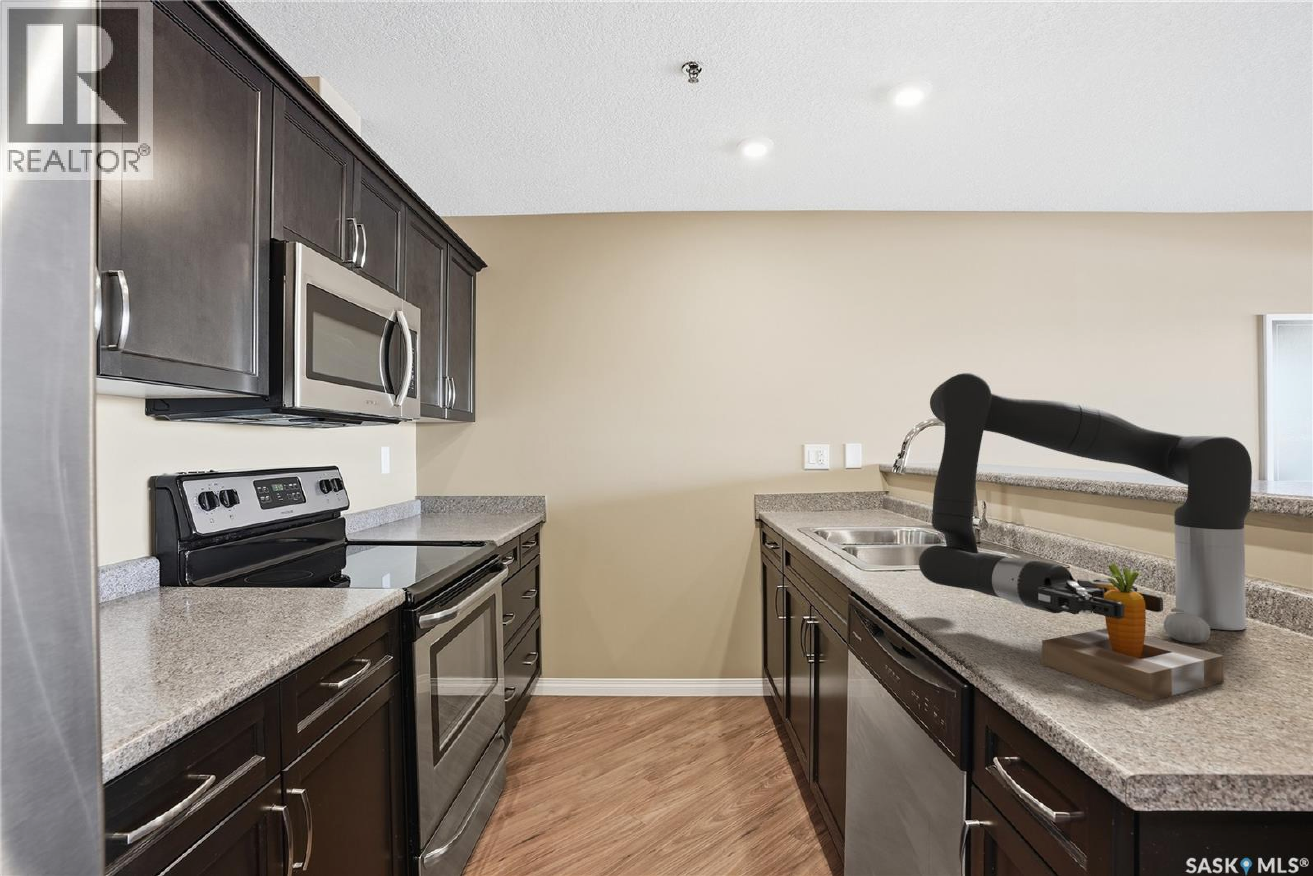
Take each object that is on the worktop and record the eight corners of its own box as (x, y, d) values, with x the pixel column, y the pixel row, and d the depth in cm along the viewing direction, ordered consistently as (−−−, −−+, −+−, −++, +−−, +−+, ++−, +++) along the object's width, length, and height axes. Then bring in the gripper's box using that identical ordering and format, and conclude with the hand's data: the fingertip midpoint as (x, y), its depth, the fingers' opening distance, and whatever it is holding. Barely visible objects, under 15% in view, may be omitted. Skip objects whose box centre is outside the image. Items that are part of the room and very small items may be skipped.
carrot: (1158, 679, 83) (1152, 568, 84) (1117, 678, 84) (1111, 568, 85) (1137, 667, 88) (1131, 562, 89) (1098, 665, 89) (1093, 562, 90)
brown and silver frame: (1113, 649, 96) (1112, 627, 96) (1223, 681, 83) (1223, 655, 83) (1042, 664, 90) (1042, 640, 90) (1150, 701, 77) (1149, 673, 77)
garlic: (1155, 639, 101) (1155, 607, 101) (1171, 634, 104) (1170, 603, 104) (1201, 649, 96) (1201, 616, 96) (1216, 644, 98) (1216, 611, 98)
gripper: (1000, 564, 97) (1108, 585, 82) (1060, 557, 102) (1173, 576, 87) (1000, 611, 97) (1109, 642, 82) (1061, 602, 102) (1174, 629, 87)
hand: (1142, 608), depth 85 cm, fingers open, 8 cm apart
